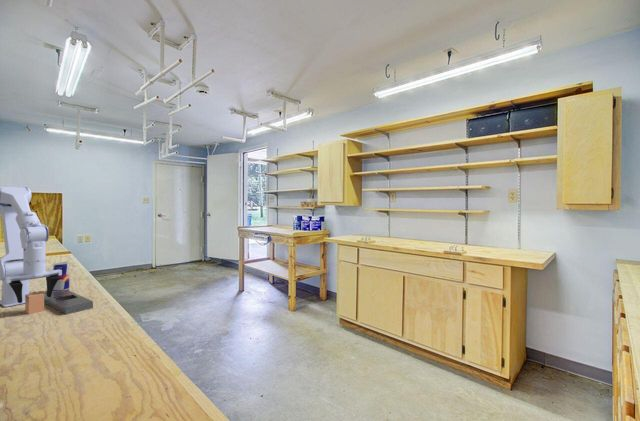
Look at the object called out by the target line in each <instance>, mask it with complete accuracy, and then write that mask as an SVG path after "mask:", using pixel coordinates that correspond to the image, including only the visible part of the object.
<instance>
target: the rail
mask: <svg viewBox="0 0 640 421" xmlns="http://www.w3.org/2000/svg"><path fill="white" fill-rule="evenodd" d="M43 294H44V304H46V305H48V306H49V307H51V308H53V309H56V310H57V311H59V312H61V313H62V314H64V315H69V314H75V313H78V312H81V311H83V312H84V311H86V310H91V309H94V301H93V300H91V299H89V298H86V297H85V296H82V295H80V294H78V293H75V292H74V291H71V290H70V289H69V290H64V291H59V292H52V295H51V297H47V293H43Z"/></svg>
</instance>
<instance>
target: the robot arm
mask: <svg viewBox="0 0 640 421" xmlns="http://www.w3.org/2000/svg"><path fill="white" fill-rule="evenodd" d="M31 200H32V190H31V188H29V186H20V187H19V186H2V185H1V186H0V217H1V224H2V231H3V241H4V248H5V255H4V254H3V256H1V257H0V281H2V284H1V300H0V305H1V306H3V308H7V307H12V306H18V305H22V304H25V295H27V294H31V293H30V292H31V291H30V285H31V284H30V283H31V282H30V280H36V279H41V278H42V279H43V278H45V280H46V294H47V297H51V295H52V293H54V292H53V289H54V287H55V285H56V283H57V281H58V280H59V277H58V276H60V275H62V270H60V269H59V270H53V269H51V270H47V268H46V267H47V264H46V263H47V262H46V261H47V256H46V255H47V254H46V252H47V251H46V250H47V248H46V245H47V244H46V242H48V241H49V238H50V231H49V228H48V226H47V225H45V224H43V223H41V221H40V219H39V217H38V215H37V214H36V212H35V211H32V210H31V207H30V202H31Z"/></svg>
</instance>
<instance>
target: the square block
mask: <svg viewBox="0 0 640 421" xmlns="http://www.w3.org/2000/svg"><path fill="white" fill-rule="evenodd" d="M44 294H45V293H43V292H41V291H39V292H34V293H30V294H27V295H25V303H24V305H25V306H24V307H25V308H24V310H25V313H26V314H28V315H32V314H37V313H42V312H45V303H44Z"/></svg>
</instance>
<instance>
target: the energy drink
mask: <svg viewBox="0 0 640 421" xmlns="http://www.w3.org/2000/svg"><path fill="white" fill-rule="evenodd" d="M59 269H60V270H62V275H60V276H58V277H59V280H58V281H57V283H56V285H55V287H54V289H53V292H52V293H54V292H59V291H64V290H69V291H70V263H69V262H68V261H64V262H63V261H61V262H55V263H53V266H52V270H59Z"/></svg>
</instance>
